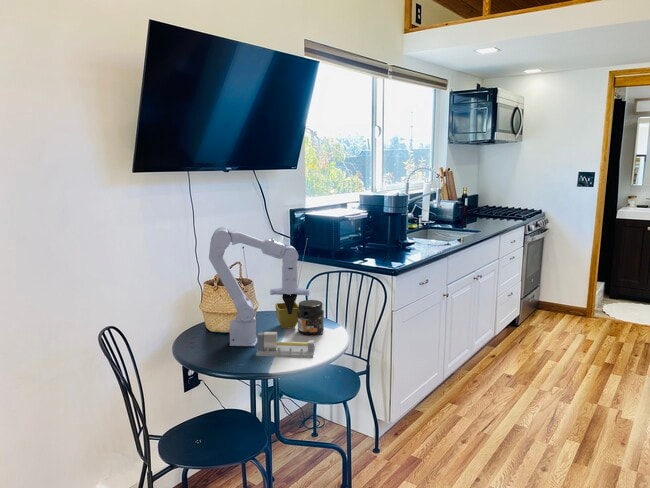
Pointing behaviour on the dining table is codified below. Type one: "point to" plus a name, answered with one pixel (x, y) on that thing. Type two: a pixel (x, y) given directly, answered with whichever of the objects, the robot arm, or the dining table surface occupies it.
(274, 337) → the sleeve
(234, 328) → the robot arm
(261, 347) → the slider rail
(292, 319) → the flower pot
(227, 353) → the dining table surface
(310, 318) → the supplement container
